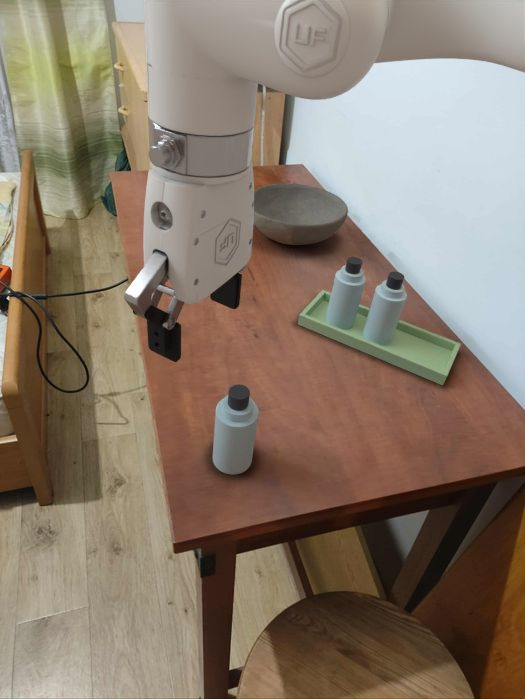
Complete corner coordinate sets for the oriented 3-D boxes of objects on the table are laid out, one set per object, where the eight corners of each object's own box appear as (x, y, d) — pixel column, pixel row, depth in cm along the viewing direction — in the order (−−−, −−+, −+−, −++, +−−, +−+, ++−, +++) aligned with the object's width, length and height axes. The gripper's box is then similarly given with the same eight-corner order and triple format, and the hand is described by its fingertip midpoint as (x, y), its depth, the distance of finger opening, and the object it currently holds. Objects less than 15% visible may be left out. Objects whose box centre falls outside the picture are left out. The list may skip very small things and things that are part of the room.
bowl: (298, 272, 100) (304, 236, 95) (224, 231, 110) (226, 196, 105) (358, 240, 113) (366, 207, 108) (287, 206, 123) (292, 173, 118)
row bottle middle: (395, 334, 87) (416, 274, 80) (386, 349, 84) (407, 288, 76) (368, 323, 89) (386, 263, 81) (358, 337, 86) (376, 276, 78)
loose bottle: (259, 454, 66) (269, 388, 58) (238, 481, 62) (246, 415, 54) (226, 436, 67) (232, 370, 59) (204, 462, 64) (208, 395, 56)
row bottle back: (358, 318, 90) (375, 259, 82) (347, 333, 86) (364, 272, 78) (332, 308, 91) (346, 249, 83) (320, 322, 88) (334, 261, 80)
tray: (456, 353, 86) (461, 343, 85) (442, 385, 79) (447, 376, 78) (320, 298, 94) (322, 289, 93) (297, 324, 88) (299, 314, 86)
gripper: (169, 198, 30) (172, 397, 41) (298, 131, 42) (274, 299, 53) (75, 163, 33) (102, 361, 44) (222, 109, 45) (214, 275, 56)
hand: (196, 327), depth 49 cm, fingers open, 9 cm apart
